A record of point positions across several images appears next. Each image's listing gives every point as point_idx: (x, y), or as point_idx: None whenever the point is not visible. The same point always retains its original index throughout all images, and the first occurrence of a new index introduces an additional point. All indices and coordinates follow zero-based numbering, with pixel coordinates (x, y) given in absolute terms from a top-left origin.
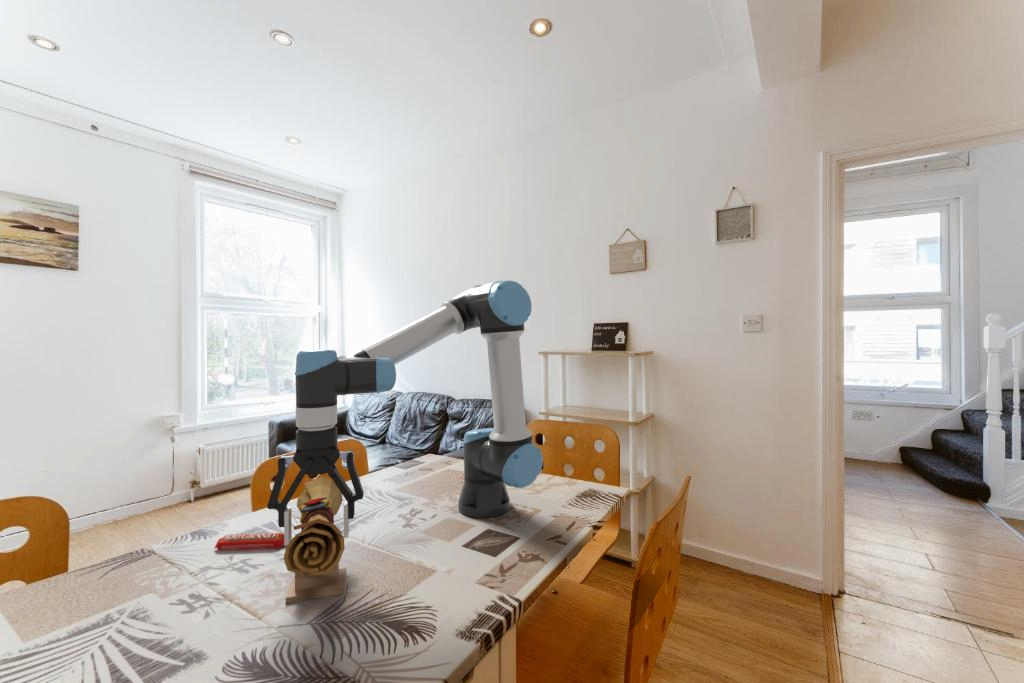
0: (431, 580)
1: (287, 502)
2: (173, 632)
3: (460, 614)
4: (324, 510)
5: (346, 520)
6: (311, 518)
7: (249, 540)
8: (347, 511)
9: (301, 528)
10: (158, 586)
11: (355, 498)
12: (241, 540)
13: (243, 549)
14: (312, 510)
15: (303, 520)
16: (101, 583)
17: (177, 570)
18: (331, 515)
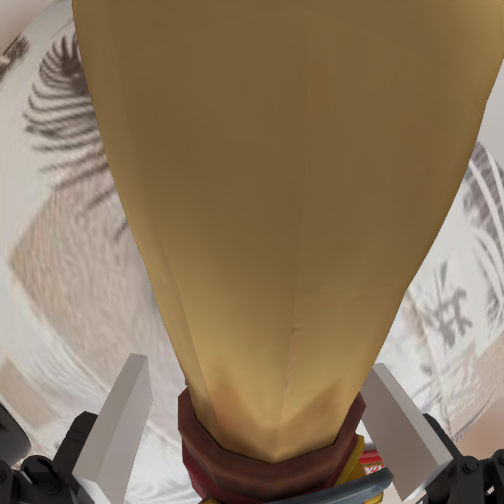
0: (14, 226)
1: (461, 498)
2: (473, 237)
3: (4, 97)
4: (232, 488)
5: (110, 407)
6: (335, 416)
7: (371, 462)
8: (86, 442)
9: (359, 392)
10: (470, 371)
11: (31, 486)
12: (381, 462)
13: (374, 451)
14: (313, 492)
15: (351, 441)
16: (495, 382)
17: (448, 406)
18: (190, 458)
